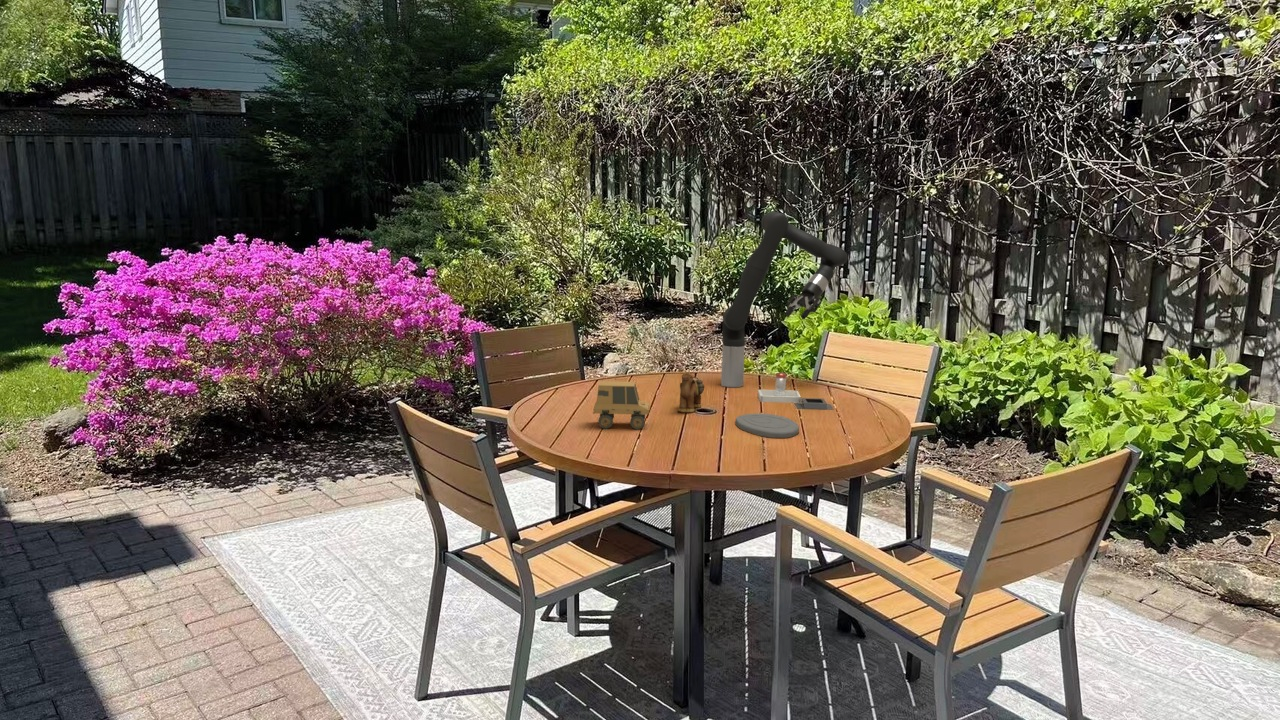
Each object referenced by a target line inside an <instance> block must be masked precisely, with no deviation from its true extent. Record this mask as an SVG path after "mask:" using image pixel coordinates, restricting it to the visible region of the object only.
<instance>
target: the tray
mask: <svg viewBox="0 0 1280 720" xmlns="http://www.w3.org/2000/svg"><path fill="white" fill-rule="evenodd" d="M757 398H758V400H759V403H783V404H785V403H789V404H792V403H793V404H794V403H801V401H802V396H801V395H800V392H799V391H798V390H790V389H789V390H787V389H785V396H775V389H758V390H757Z"/></svg>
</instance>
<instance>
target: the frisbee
mask: <svg viewBox="0 0 1280 720" xmlns="http://www.w3.org/2000/svg"><path fill="white" fill-rule="evenodd" d="M735 424H736V427H737V428H739V429H740V430H742V431H744V432H746V433H750V434H752V435H756V436H759V437H761V438H762V437H763V438H769V439H788V438H793V437H796V436H797V435H798V434H799V432H800V426H799V425H798V423H797V422H795V421H794V420H793V419H790V418H789V417H785V416H782V415H778V414H772V413H746V414H741V415H738V416H736V418H735Z"/></svg>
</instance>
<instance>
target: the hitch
mask: <svg viewBox="0 0 1280 720" xmlns="http://www.w3.org/2000/svg"><path fill="white" fill-rule="evenodd" d="M793 404H794V406H795V409H797V410H818V411H819V410H823V411H825V410H826V411H835V408H834V407H833V405H832V404H831V403H827V401H826V400H825V399H824V398H819V397H817V398H815V397H814V398H812V397H810V398H809V397H801V403H793Z"/></svg>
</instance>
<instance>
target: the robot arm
mask: <svg viewBox="0 0 1280 720" xmlns="http://www.w3.org/2000/svg"><path fill="white" fill-rule="evenodd" d="M761 227H762V229H763V230H764V234H763V236H762V239H761V241H760V244H759V245H758V246H757V248H756V249H755V250H754V251H753V252H752V253H751V256H750V257H749V258H748V260H747V262H746V264H745V266H744V269H743V270H742V273H741V276H740V281H739V285H738V288H737V290H738V291H737V293H736V295H735V298H734V300H733V303H732V304H731V305H730V306H729V307H727V309H725V311H724V312H723V315H722V332H721V333H722V351H721V353H722V356H721V357H722V358H721V360H722V361H721V373H720V375H721V376H720V384H721V387H725V388H740V387H741V388H742V387H743V386H744V377H745V376H744V374H745V353H746V352H745V350H746V349H745V348H746V338H745V325H746V324H747V321H748V318H749V314H750V312H751V308H752V305H753V302H754V300H755V298H756V297H757V295H758V293H759V291H760V289H761V286H762V285H763V283H764V280H765V279H766V276H767V273H768V271H769V269H770V266H771V263H772V262H773V259H774V256H775V253H776V251H777V249H778V247H779V245H780V243H781V241H782V240H783V239H785V240H786V241H789V242H791V243H793V244H794V245H796V246H797V247H799V248H800V249H802V250H804V251H805V252H807V253H808V254H811V255H812V256H814V257H815V258H819V259H820V258H822V259H821V261H820V264H819V267H818V268H817V269H816V271H815V273H813V275H812V276H811V277H810V278H809V279H808V281H807V282H806V284H805V285H804V287H803V288H802V289H801V294H800V295H797V294H796V293H794V294H793V295H792V296H791V298H790V299H789V300H788V301H787V303H786V305H787V307H788V308H787V309H786V311H785V313H784V314H785V315H786V317H791V315H792V313H793V312H794V310H796V309H800V308H805V309H804V310H803V312H802V313H801V315H800V318H801V319H802V320H806V319H807V317H808V316H809V314H811V313H816V312H817V310H818V308H819V307H820V305H821V303H822V301H821V299H820V297H821V296H822V294H823V293H824V291H825V290H826V289H827V287H828V285H829V283H830V282H831V280H832V279H833V277H834V275H835V271H834V270H835V269H836V268H837V267H840V266H842V265H845V264H846V263H847V261H848V253H847V252H846V251H845V249H843V248H841V247H839V246H837V245H833V244H832V243H827V242H825V241H823V240H822V239H820V238H818V236H815V235H813V234H811V233H810V232H809V233H808V232H806V231H805V230H802V229H801V228H798V227H796V226H794V225H793V224H791V223H790V222H789V218H788V217H787V216H786V215H785V214H784V213H782V212H778V211H774V210H773V211H768V212H766V213H765V214H764V215H763V216H762V218H761Z"/></svg>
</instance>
